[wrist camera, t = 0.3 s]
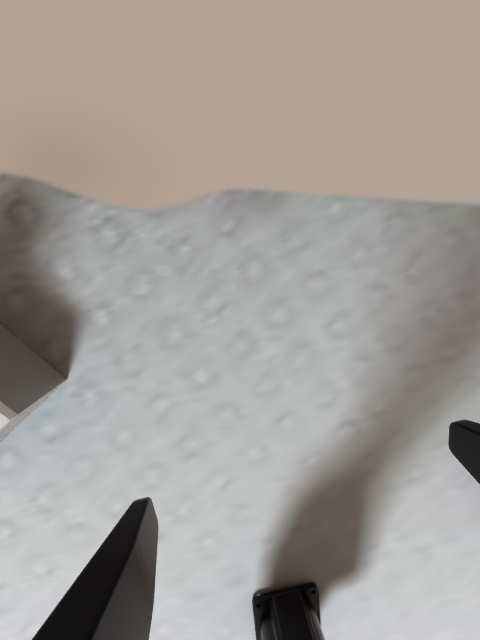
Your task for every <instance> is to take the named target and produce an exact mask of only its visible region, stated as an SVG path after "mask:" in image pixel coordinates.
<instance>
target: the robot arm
mask: <svg viewBox="0 0 480 640" xmlns="http://www.w3.org/2000/svg"><path fill="white" fill-rule="evenodd" d="M449 448H450V451H451V452H452V454H453V455H454V456H455V457H456V458H457V459H458V460H459V462H460V463H461V464H462V465H463V466H464V467H465V468H466V469H467V471H468V472H469V473H470V474H471V475H472V476H473V477H474V478H475V479H476V481H477V482H478V483H479V484H480V424H479V423H475V422H472V421H468V420H459V421H455V422H452V423H451V424H450V426H449ZM157 543H158V520H157V517H156V513H155V510H154V506H153V503H152V500H151V498H149V497H146V498H142V499H138V500H135V501H134V502H133V503H132V504H131V505H130V507H129V508H128V509H127V511H126V512H125V514H124V515H123V516H122V518H121V519H120V520H119V522H118V523H117V524H116V526H115V527H114V529H113V530H112V531H111V533H110V534H109V535H108V537H107V538H106V539H105V541H104V542H103V543H102V545H101V546H100V548H99V549H98V550H97V552H96V553H95V554H94V556H93V557H92V558H91V560H90V561H89V563H88V564H87V565H86V567H85V568H84V569H83V571H82V572H81V573H80V575H79V576H78V577H77V579H76V580H75V582H74V583H73V584H72V586H71V587H70V588H69V590H68V591H67V592H66V594H65V595H64V597H63V598H62V599H61V601H60V602H59V603H58V605H57V606H56V607H55V609H54V610H53V611H52V613H51V614H50V616H49V617H48V618H47V620H46V621H45V622H44V624H43V625H42V626H41V628H40V629H39V631H38V632H37V633H36V635H35V636H34V637H33V639H32V640H149V633H150V626H151V620H152V612H153V603H154V590H155V574H156V558H157ZM252 605H253V614H254V623H255V632H256V640H325V639H324V636H323V633H322V630H321V627H320V612H319V595H318V589H317V586H316V584H315V583H310V584H306V585H302V586H298V587H294V588H290V589H286V590H282V591H277V592H273V593H269V594H265V595H261V596H257V597H255V598H254V599H253V600H252Z"/></svg>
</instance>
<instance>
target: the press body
mask: <svg viewBox="0 0 480 640" xmlns="http://www.w3.org/2000/svg"><path fill="white" fill-rule="evenodd" d="M66 380H67V378H65V377H64V376H63V375H62V374H61V373H59V372H58V371H57V370H56V369H55V368H53V367H52V366H51V365H50V364H49V363H47V362H46V361H45V360H44V359H43V358H42V357H40V356H39V355H38V354H37V353H36V352H34V351H33V350H32V349H31V348H30V347H28V346H27V345H26V344H25V343H24V342H22V341H21V340H20V339H19V338H18V337H16V336H15V335H14V334H13V333H12V332H10V331H9V330H8V329H7V328H6V327H4V326H3V325H2V324H1V323H0V442H1V441H2V440H3V439H4V438H5V437H6V436H7V435H8V434H9V433H10V432H12V431H13V430H14V429H15V428H16V427H17V426H18V425H19V424H20V423H21V422H22V421H23V420H24V419H25V418H26V417H27V416H29V415H30V414H31V413H32V412H33V411H34V410H35V409H36V408H37V407H38V406H39V405H40V404H41V403H42V402H43V401H44V400H46V399H47V398H48V397H49V396H50V395H51V394H52V393H53V392H54V391H55V390H56V389H57V388H58V387H59V386H60V385H61V384H63V383H64V382H65V381H66Z"/></svg>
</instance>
